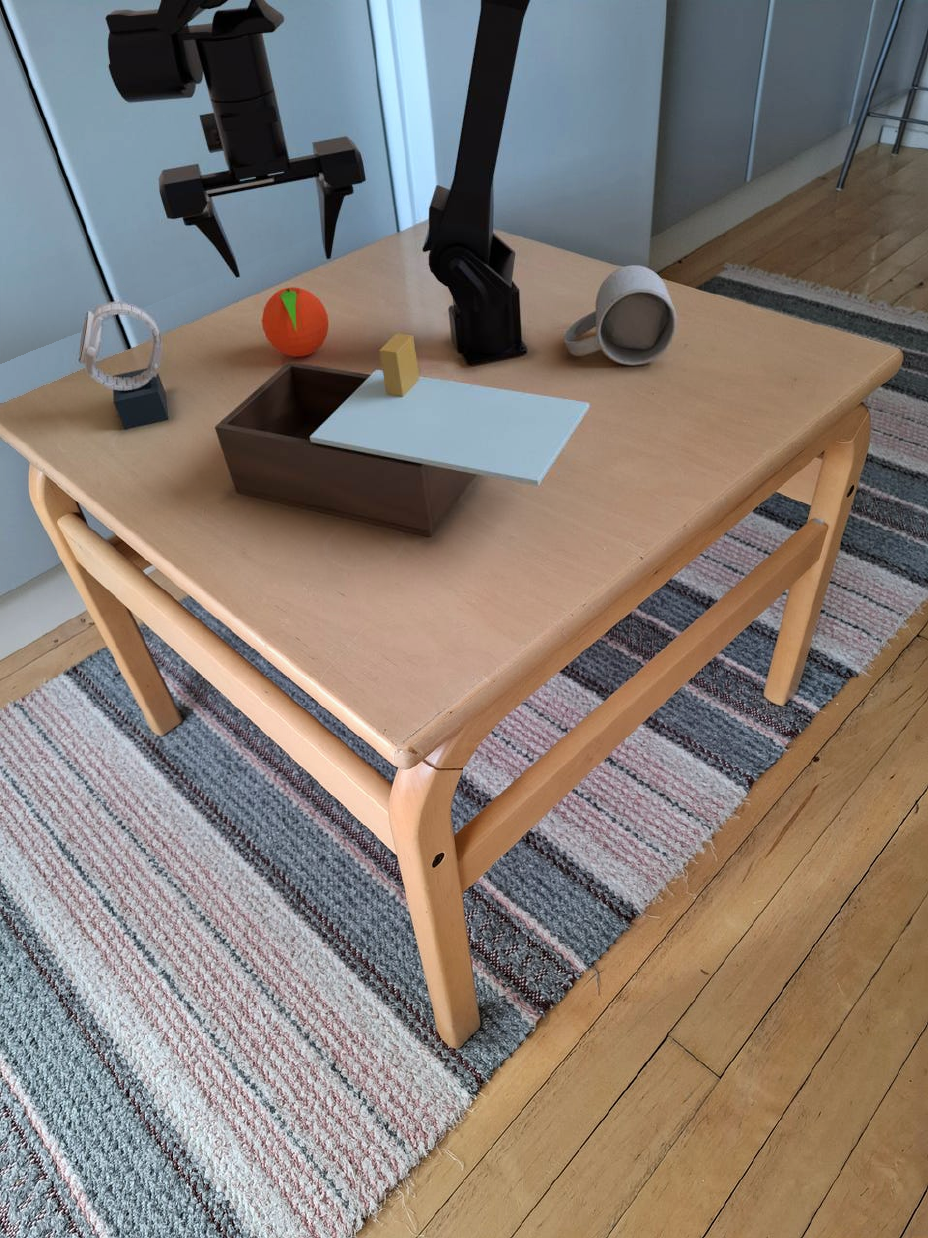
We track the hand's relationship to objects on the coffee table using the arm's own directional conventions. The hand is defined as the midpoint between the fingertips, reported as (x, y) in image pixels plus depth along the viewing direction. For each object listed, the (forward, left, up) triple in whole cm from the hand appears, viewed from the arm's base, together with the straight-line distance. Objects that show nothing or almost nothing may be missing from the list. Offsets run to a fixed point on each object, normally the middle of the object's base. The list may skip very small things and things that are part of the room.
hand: (283, 266), depth 91 cm
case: (-2, +25, -10) cm, 27 cm away
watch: (+17, +5, -10) cm, 20 cm away
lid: (-9, +31, -3) cm, 33 cm away
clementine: (0, 0, -10) cm, 10 cm away
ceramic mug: (-31, +13, -10) cm, 35 cm away
